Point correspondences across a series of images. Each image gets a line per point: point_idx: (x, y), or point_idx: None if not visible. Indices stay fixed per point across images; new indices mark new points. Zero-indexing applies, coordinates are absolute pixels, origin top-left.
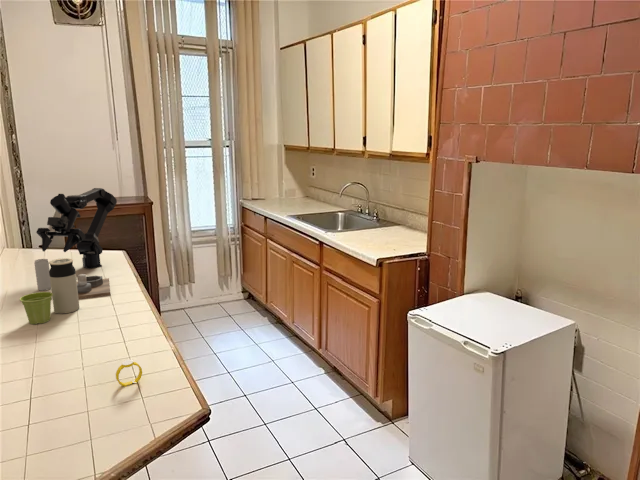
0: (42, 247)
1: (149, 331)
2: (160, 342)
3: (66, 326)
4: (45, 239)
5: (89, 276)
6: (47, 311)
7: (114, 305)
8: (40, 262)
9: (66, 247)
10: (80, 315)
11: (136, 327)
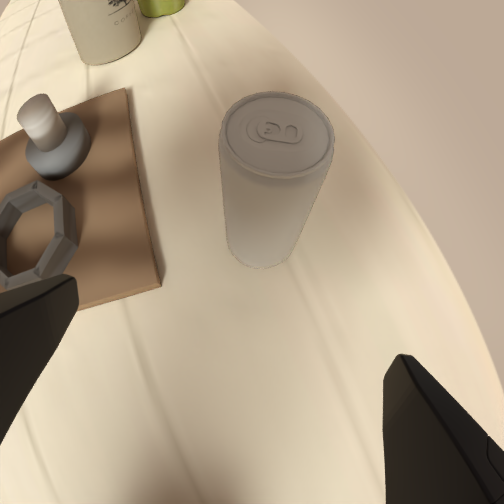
0: (433, 380)
1: (5, 23)
2: (8, 10)
3: None
4: (482, 502)
5: (29, 276)
6: None
7: (10, 85)
8: (262, 99)
9: (17, 293)
10: None
11: (13, 26)
